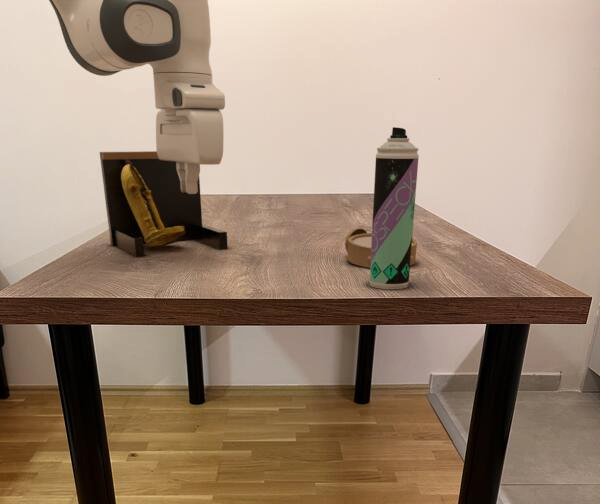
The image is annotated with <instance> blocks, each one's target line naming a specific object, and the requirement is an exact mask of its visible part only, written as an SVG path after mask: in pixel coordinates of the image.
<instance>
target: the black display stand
mask: <svg viewBox="0 0 600 504" xmlns="http://www.w3.org/2000/svg"><path fill="white" fill-rule="evenodd" d="M99 159H100V167H101V175H102V182H103V192H104V200H105V209H106V217H107V224H108V225H107V227H108V233H109V242H110V246H112V247H117V248H119V249H121V250H123V251H125V252H126V253H129V254H131V255H132V256H134V257H136V258H137V257H138V258H139V257H145V245H146V242H145V241H144V236H143V234H142V231H141V229H140V227H139V225H138V223H137V220H136V219H135V216H134V214H133V212H132V209H131V207H130V205H129V203H128V201H127V198H126V195H125V193H124V190H123V186H122V180H121V173H122V170H123V168H124V166H126V162H125V159H129V160H130V162H132V165H133V167H135V168H136V170H137V171H138V174H140V176H141V177H142V179H143V180H144V182H145V185H146V187H147V188H148V190H151V197H152V198H153V199H152V200H153V202H154V204H155V206H156V209H157V211H158V214H159V217H160V220H161V222H162V223H163V225H164V228H172V227H176V226H184V230H185V232H186V233H185V234H184V236H182V237H179V238H178V241H177V242H182V241H196V242H199V243H202V244H203V245H206V246H210V247H212V248H215V249H217V250H228V248H229V247H228V232H227V231H225V230H222V229H220V228H215V227H212V226H210V225H206V224H203V215H202V214H203V213H202V199H201V198H202V197H201V183H200V181H201V180H200V177H199V178H198V182H197V187H198V192H197V193H196V194H188V193H183V192H182V191H181V184H180V179H179V176H178V173H177V169H176V162H174V161H165V160H160V159H159V158H158V155H157V150H152V151H151V150H149V151H148V150H146V151H145V150H144V151H143V150H140V151H99Z"/></svg>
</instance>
